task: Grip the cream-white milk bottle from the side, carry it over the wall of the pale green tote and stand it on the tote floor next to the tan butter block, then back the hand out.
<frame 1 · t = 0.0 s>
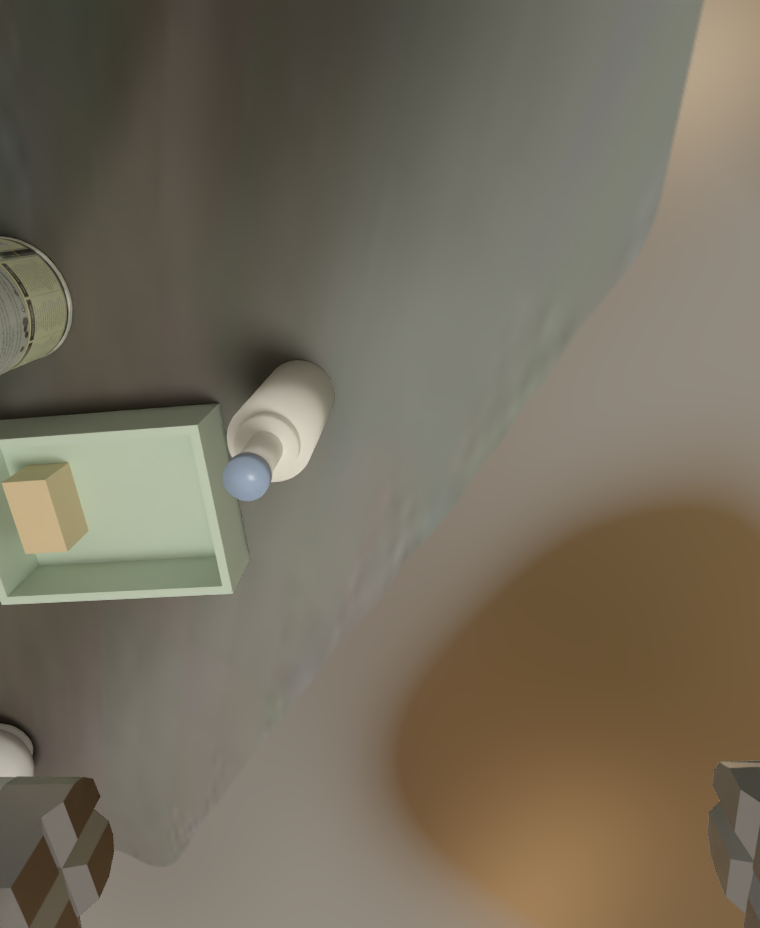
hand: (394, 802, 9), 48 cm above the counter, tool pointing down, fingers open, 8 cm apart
butter block: (58, 498, 62), point 1 cm above the counter, touching tote
tote: (122, 491, 62), on the counter
flower vase: (7, 736, 74), on the counter
coffee can: (16, 300, 56), on the counter
milk bottle: (300, 394, 57), on the counter
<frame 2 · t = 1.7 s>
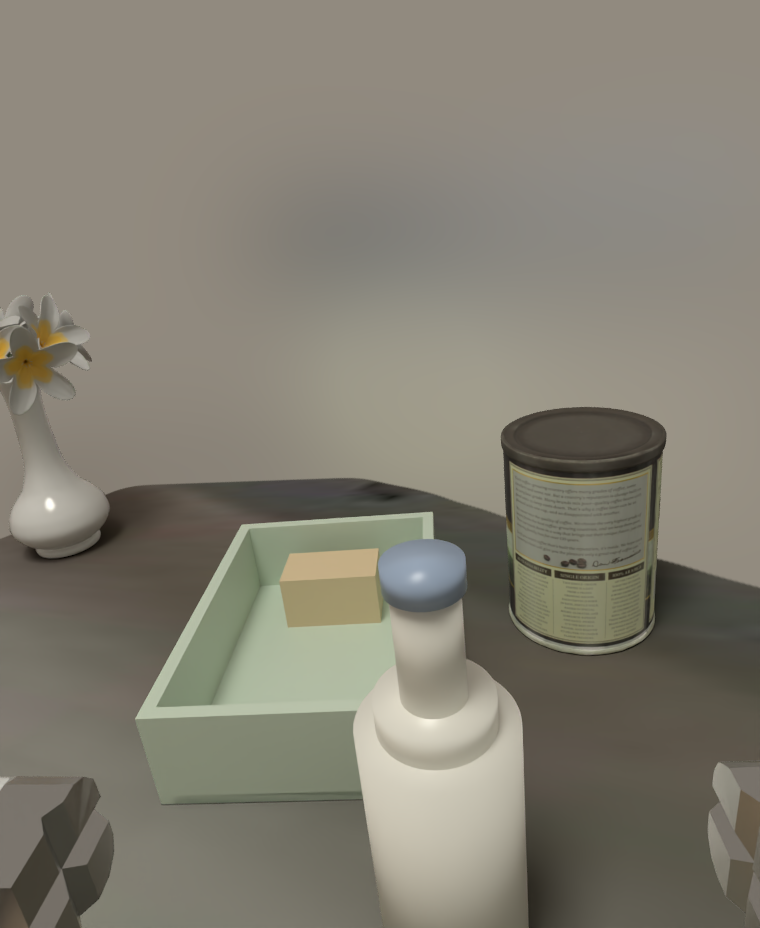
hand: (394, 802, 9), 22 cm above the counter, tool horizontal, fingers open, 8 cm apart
butter block: (337, 609, 51), point 1 cm above the counter, touching tote
tote: (328, 667, 45), on the counter
flower vase: (77, 545, 68), on the counter
coffee can: (579, 614, 48), on the counter
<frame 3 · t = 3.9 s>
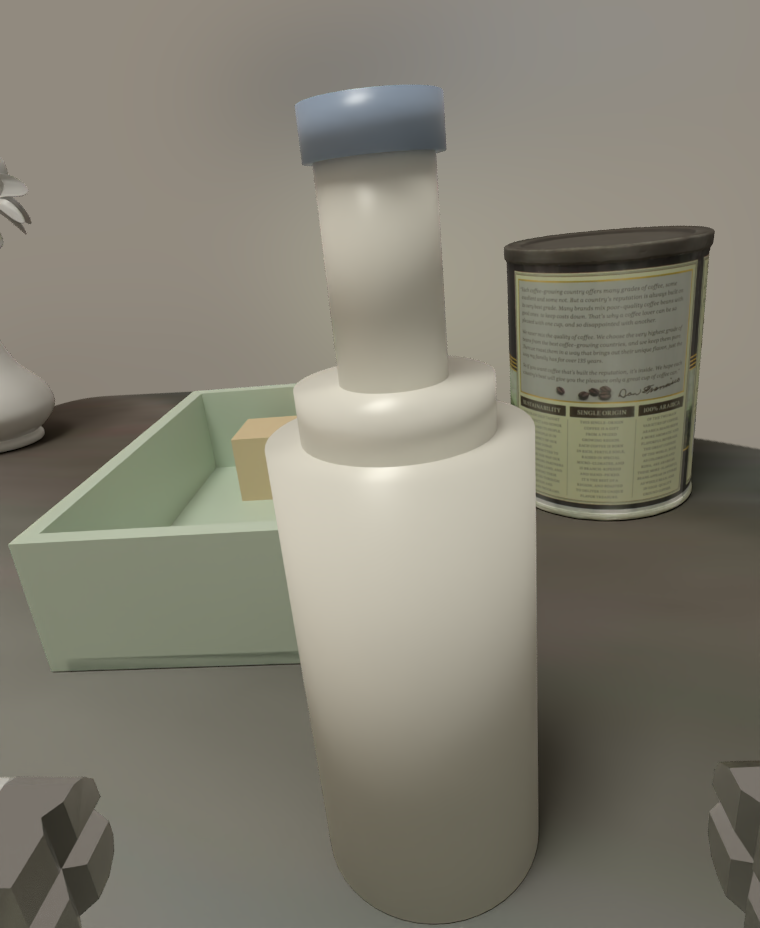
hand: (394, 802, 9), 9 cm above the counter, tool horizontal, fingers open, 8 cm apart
butter block: (304, 484, 42), point 1 cm above the counter, touching tote
tote: (286, 538, 37), on the counter
flower vase: (16, 444, 59), on the counter
coffee can: (597, 486, 40), on the counter
milk bottle: (432, 819, 19), on the counter
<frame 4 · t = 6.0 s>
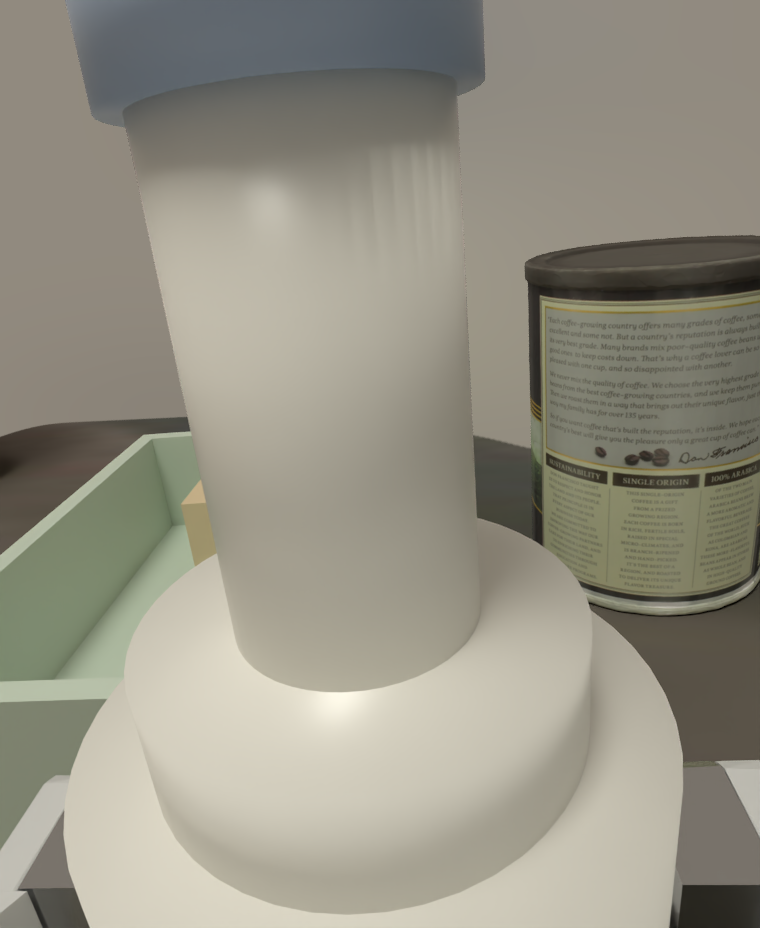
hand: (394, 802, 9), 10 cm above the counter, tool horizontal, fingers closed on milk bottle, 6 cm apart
butter block: (275, 553, 34), point 1 cm above the counter, touching tote
tote: (248, 634, 29), on the counter
coffee can: (639, 559, 32), on the counter
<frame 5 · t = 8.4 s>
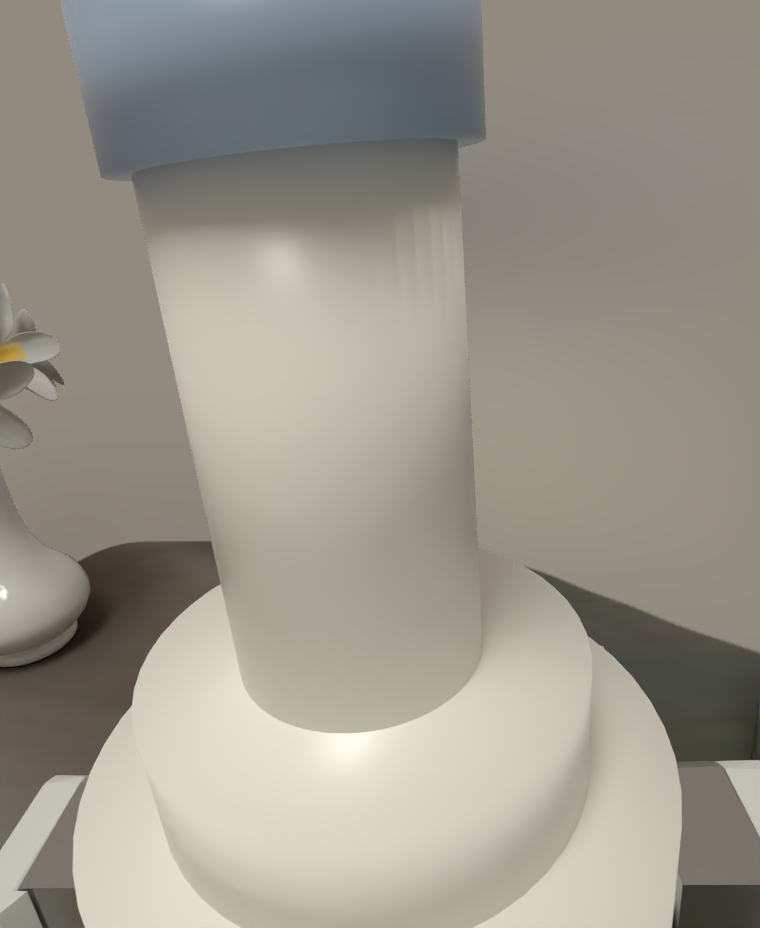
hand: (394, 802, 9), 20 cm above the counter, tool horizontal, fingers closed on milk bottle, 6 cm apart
flower vase: (43, 643, 48), on the counter
when the fingers open (11 cm above the counter, at t = 11.2 s): milk bottle stays where it is, resting on tote.
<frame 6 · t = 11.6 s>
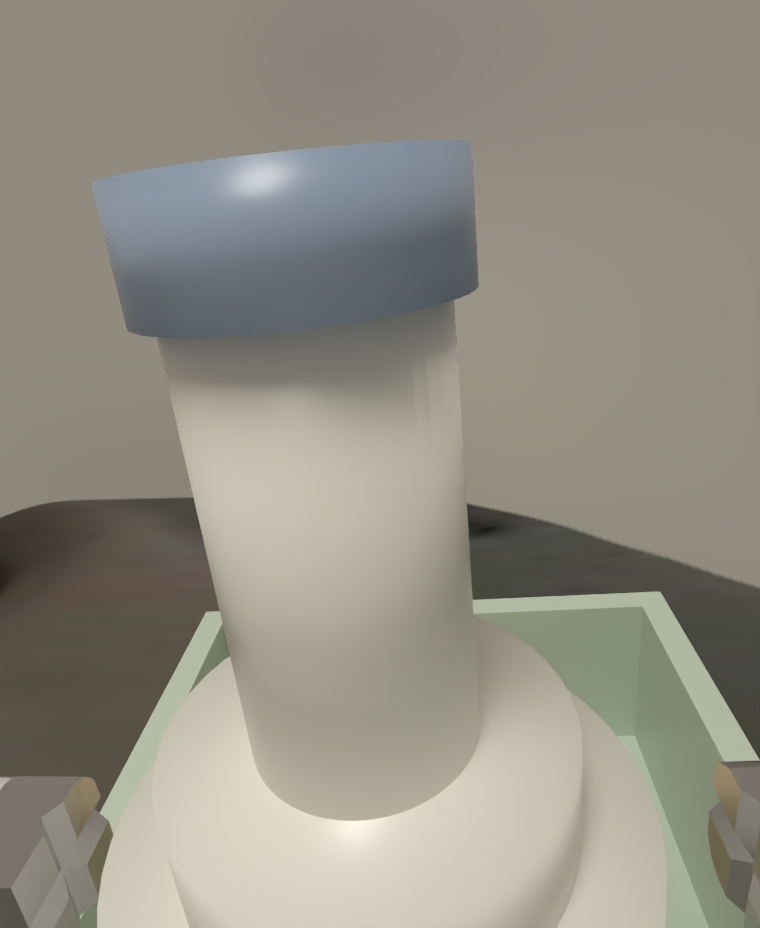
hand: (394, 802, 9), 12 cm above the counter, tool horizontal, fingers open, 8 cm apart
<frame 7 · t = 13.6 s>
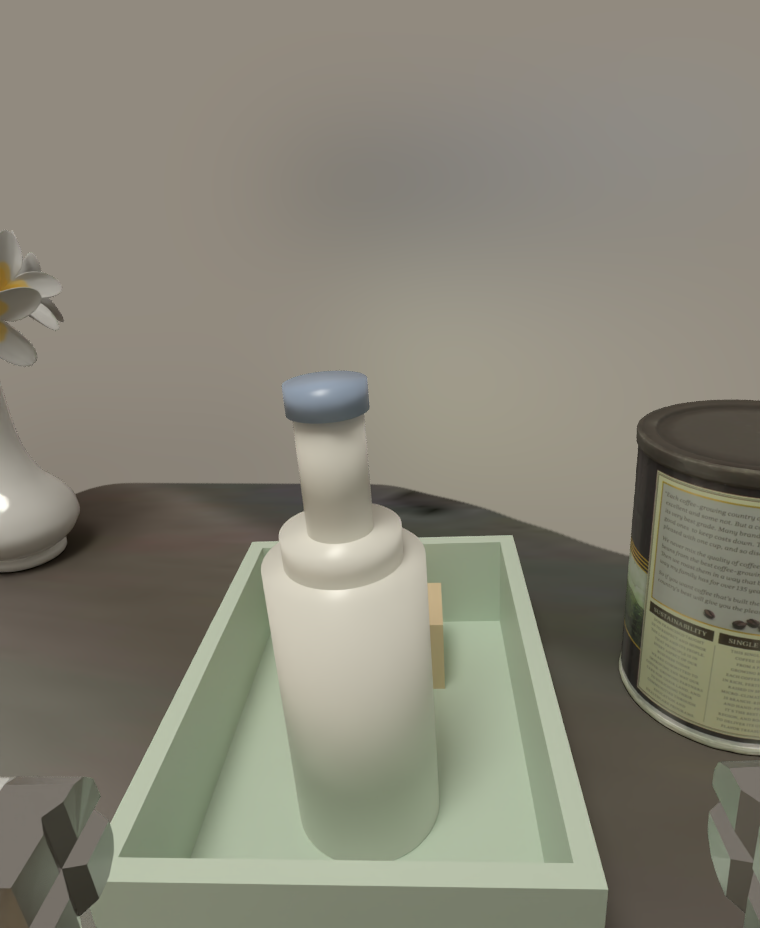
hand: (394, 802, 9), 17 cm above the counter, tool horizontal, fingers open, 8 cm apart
butter block: (381, 664, 37), point 1 cm above the counter, touching tote
tote: (374, 756, 32), on the counter
flower vase: (35, 556, 53), on the counter
coffee can: (720, 686, 35), on the counter
milk bottle: (369, 800, 28), point 1 cm above the counter, touching tote
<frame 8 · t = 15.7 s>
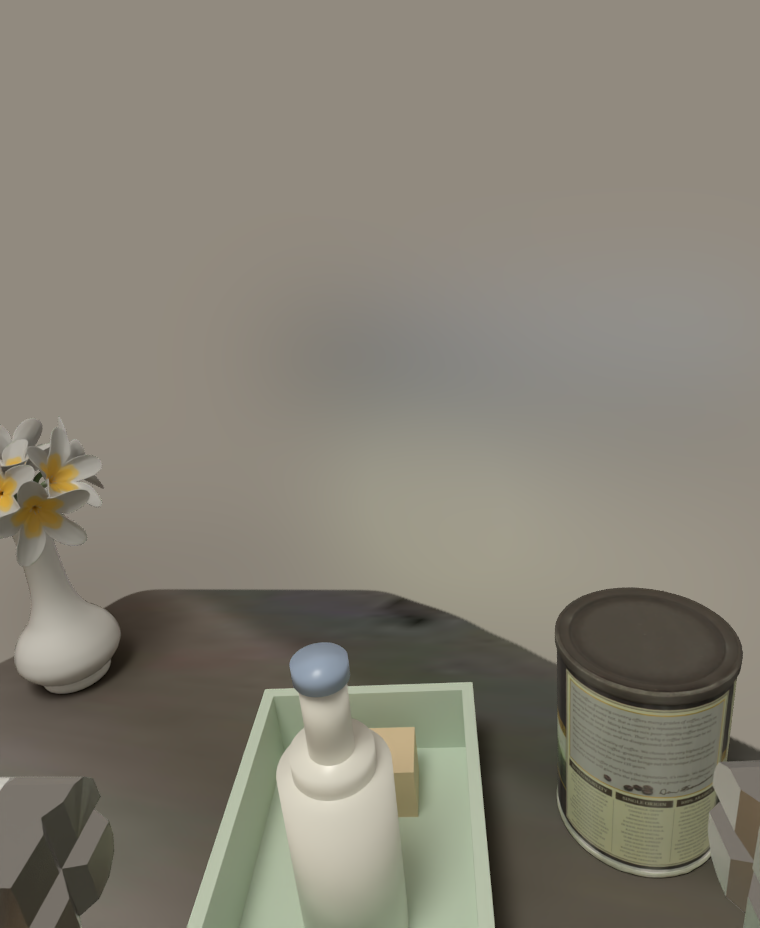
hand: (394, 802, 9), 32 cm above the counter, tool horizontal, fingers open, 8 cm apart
butter block: (369, 793, 47), point 1 cm above the counter, touching tote
tote: (362, 879, 41), on the counter
flower vase: (85, 675, 64), on the counter
coffee can: (634, 809, 44), on the counter
milk bottle: (357, 923, 38), point 1 cm above the counter, touching tote
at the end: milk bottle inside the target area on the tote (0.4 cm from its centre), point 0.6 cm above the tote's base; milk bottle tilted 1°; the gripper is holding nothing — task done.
